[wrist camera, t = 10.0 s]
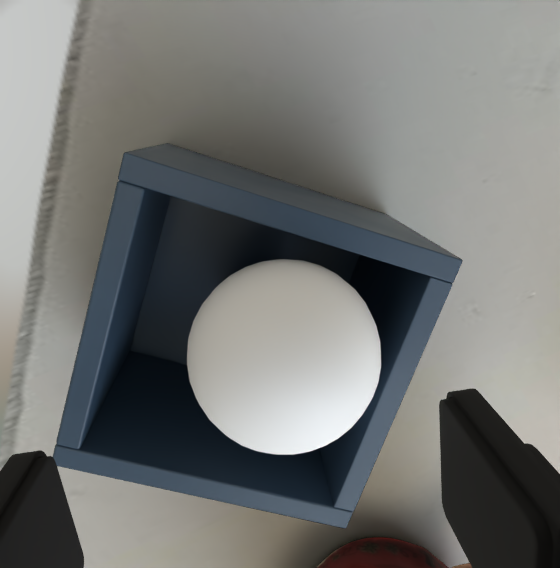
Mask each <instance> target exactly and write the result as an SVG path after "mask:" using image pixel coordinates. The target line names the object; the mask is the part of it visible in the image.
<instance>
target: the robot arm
mask: <svg viewBox="0 0 560 568" xmlns="http://www.w3.org/2000/svg"><path fill="white" fill-rule="evenodd" d="M439 412H440V448H441V483H442V504H443V509H444V512H445V515H446V517H447V520H448V522H449V524H450V525H451V527H452V529H453V531H454V533H455V535H456V537H457V539H458V541H459V543H460V545H461V547H462V549H463V551H464V553H465V554H466V556H467V558H468V560H469V562H470V564H471V566H472V568H560V474H559V473H558V472H557V471H556V470H555V468H554V467H553V466H552V465H551V464H550V463H549V462H548V461H547V460H546V458H545V457H544V456H543V455H542V454H541V453H540V452H539V451H538V450H537V449H536V448H535V447H534V446H533V445H531V444H524V443H523V442H522V441H521V439H520V438H519V437H518V436H517V435H516V434H515V433H514V432H513V430H512V429H511V428H510V427H509V426H508V425H507V424H506V422H505V421H504V420H503V419H502V418H501V417H500V416H499V415H498V413H497V412H496V411H495V410H494V409H493V408H492V407H491V405H490V404H489V403H488V402H487V401H486V400H485V399H484V398H483V396H482V395H481V394H480V393H479V392H478V391H477V390H476V389H466V390H460V391H453V392H449V393H448V394H447V399H444V400H441V401H440V404H439ZM83 567H84V556H83V552H82V548H81V545H80V542H79V538H78V535H77V532H76V528H75V525H74V522H73V518H72V515H71V512H70V508H69V505H68V502H67V499H66V495H65V492H64V489H63V485H62V482H61V479H60V475H59V472H58V469H57V465H56V462H55V460H54V458H53V457H51V456H48V457H47V456H46V454H45V453H44V452H43V451H34V452H27V453H20V454H15V455H12V456H11V457H10V458H9V460H8V461H7V463H6V464H5V465H4V467H3V468H2V470H1V471H0V568H83Z"/></svg>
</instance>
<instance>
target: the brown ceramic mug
mask: <svg viewBox="0 0 560 568" xmlns="http://www.w3.org/2000/svg"><path fill="white" fill-rule="evenodd" d="M316 568H448V567H447V566H446V565H445V564H444V563H442V562H441V561H440V560H439V559H437V558H436V557H435V556H434V555H432V554H431V553H430V552H429V551H428V550H426V549H425V548H423V547H421V546H418V545H415V544H412V543H409V542H405V541H402V540H398V539H393V538H385V537H372V538H364V539H360V540H356V541H353V542H350V543H348V544H346V545H344V546H342V547H340V548H339V549H337V550H335V551H334V552H332V553H331V554H330V555H329V556H328V557H327V558H326V559H324V560H323V561H322V562H321V563H320V564H319V565H318V566H317V567H316ZM452 568H472V566H471V564H470V563H468V564H462V565H458V566H454V567H452Z"/></svg>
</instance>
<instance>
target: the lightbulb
mask: <svg viewBox="0 0 560 568" xmlns="http://www.w3.org/2000/svg"><path fill="white" fill-rule="evenodd" d="M187 367H188V374H189V381H190V384H191V386H192V389H193V392H194V394H195V397H196V399H197V401H198V403H199V405H200V406H201V408H202V409H203V411H204V412H205V414H206V415H207V417H208V418H209V420H210V421H211V422H212V423H213V424H214V425H215V426H216V427H217V428H218V429H219V430H221V431H222V432H223V433H224V434H225V435H226V436H227V437H229V438H230V439H232V440H234V441H235V442H237V443H238V444H240V445H242V446H244V447H247V448H250V449H252V450H255V451H258V452H264V453H269V454H277V455H288V454H299V453H305V452H310V451H313V450H316V449H318V448H321V447H324V446H326V445H328V444H329V443H331V442H333V441H335V440H336V439H338V438H340V437H341V436H342V435H343V434H344V433H346V432H347V431H348V430H349V429H351V428H352V426H353V425H354V424H355V423H356V422H357V421H358V420H359V418H360V417H361V416H362V415H363V413H364V411H365V410H366V408H367V406H368V405H369V403H370V401H371V400H372V398H373V396H374V393H375V390H376V388H377V385H378V382H379V376H380V370H381V347H380V339H379V335H378V331H377V326H376V324H375V321H374V319H373V317H372V315H371V313H370V311H369V309H368V307H367V305H366V303H365V301H364V300H363V299H362V298H361V296H360V295H359V294H358V292H357V291H356V290H355V289H354V288H353V287H352V286H351V285H349V284H348V283H347V282H346V281H344V280H343V279H342V278H341V277H340V276H338V275H337V274H336V273H334V272H332V271H330V270H328V269H326V268H324V267H322V266H320V265H317V264H314V263H310V262H306V261H303V260H290V259H277V260H269V261H262V262H259V263H256V264H253V265H250V266H247V267H244V268H243V269H241V270H239V271H237V272H235V273H233V274H232V275H230V276H229V277H228V278H226V279H225V280H224V281H223V282H222V283H220V284H219V285H218V286H217V287H216V288H215V289H214V290H213V291H212V293H211V294H210V295H209V296H208V298H207V299H206V300H205V301H204V303H203V304H202V305H201V307H200V309H199V311H198V313H197V315H196V317H195V319H194V321H193V324H192V327H191V331H190V334H189V338H188V349H187Z"/></svg>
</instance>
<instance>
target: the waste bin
mask: <svg viewBox="0 0 560 568" xmlns="http://www.w3.org/2000/svg"><path fill="white" fill-rule="evenodd" d="M118 179H119V181H118V182H117V186H116V190H115V194H114V199H113V203H112V207H111V211H110V216H109V220H108V224H107V228H106V233H105V237H104V241H103V245H102V250H101V254H100V258H99V262H98V267H97V271H96V275H95V279H94V284H93V288H92V292H91V296H90V301H89V305H88V309H87V313H86V318H85V322H84V326H83V330H82V335H81V339H80V343H79V347H78V352H77V356H76V360H75V364H74V369H73V373H72V377H71V381H70V386H69V390H68V394H67V398H66V403H65V407H64V411H63V415H62V420H61V424H60V428H59V432H58V437H57V441H56V442H57V444H56V446H55V449H54V453H53V458H54V460H55V462H56V465H57V466H60V467H65V468H69V469H74V470H78V471H83V472H88V473H92V474H97V475H101V476H106V477H111V478H115V479H120V480H124V481H129V482H134V483H138V484H143V485H147V486H152V487H157V488H161V489H166V490H170V491H175V492H179V493H184V494H189V495H193V496H198V497H202V498H207V499H212V500H216V501H221V502H225V503H230V504H235V505H239V506H244V507H248V508H253V509H258V510H262V511H267V512H271V513H276V514H281V515H285V516H290V517H294V518H299V519H303V520H308V521H313V522H317V523H322V524H326V525H331V526H336V527H340V528H346V527H347V525H348V523H349V520H350V518H351V516H352V513H353V511H354V510H355V508H356V505H357V503H358V501H359V498H360V496H361V494H362V491H363V489H364V487H365V485H366V482H367V480H368V478H369V475H370V473H371V471H372V468H373V466H374V464H375V462H376V459H377V457H378V455H379V452H380V450H381V448H382V445H383V443H384V441H385V438H386V436H387V434H388V432H389V429H390V427H391V425H392V422H393V420H394V418H395V415H396V413H397V411H398V409H399V406H400V404H401V402H402V399H403V397H404V395H405V392H406V390H407V388H408V386H409V383H410V381H411V379H412V376H413V374H414V372H415V369H416V367H417V365H418V363H419V360H420V358H421V356H422V353H423V351H424V349H425V346H426V344H427V342H428V340H429V337H430V335H431V333H432V330H433V328H434V326H435V323H436V321H437V319H438V317H439V314H440V312H441V310H442V307H443V305H444V303H445V300H446V298H447V296H448V294H449V291H450V289H451V287H452V283H453V282H454V280H455V277H456V275H457V273H458V270H459V268H460V266H461V264H462V259H460V258H458V257H457V256H455V255H453V254H452V253H450V252H448V251H447V250H445V249H443V248H442V247H440V246H438V245H437V244H435V243H433V242H432V241H430V240H428V239H427V238H425V237H424V236H422V235H420V234H419V233H417V232H415V231H414V230H412V229H410V228H409V227H407V226H405V225H404V224H402V223H400V222H399V221H397V220H395V219H394V218H392V217H390V216H389V215H387V214H384V213H381V212H378V211H374V210H371V209H368V208H365V207H362V206H359V205H356V204H353V203H350V202H347V201H344V200H341V199H338V198H335V197H332V196H328V195H325V194H322V193H319V192H316V191H313V190H310V189H307V188H304V187H301V186H298V185H295V184H292V183H289V182H285V181H282V180H279V179H276V178H273V177H270V176H267V175H264V174H261V173H258V172H255V171H252V170H249V169H246V168H243V167H239V166H236V165H233V164H230V163H227V162H224V161H221V160H218V159H215V158H212V157H209V156H206V155H203V154H200V153H197V152H193V151H190V150H187V149H184V148H181V147H178V146H175V145H172V144H169V143H166V144H162V145H157V146H153V147H148V148H143V149H139V150H134V151H129V152H125V153H124V155H123V159H122V163H121V167H120V172H119V176H118ZM277 259H290V260H303V261H306V262H310V263H314V264H317V265H320V266H322V267H324V268H326V269H328V270H330V271H332V272H334V273H336V274H337V275H338V276H340V277H341V278H342V279H343V280H344V281H346V282H347V283H348V284H349V285H351V286H352V287H353V288H354V289H355V290H356V291H357V292H358V294H359V295H360V296H361V298H362V299H363V300H364V301H365V303H366V305H367V307H368V309H369V311H370V313H371V315H372V317H373V319H374V321H375V324H376V326H377V331H378V335H379V339H380V347H381V370H380V376H379V382H378V385H377V388H376V390H375V393H374V396H373V398H372V400H371V401H370V403H369V405H368V406H367V408H366V410H365V411H364V413H363V415H362V416H361V417H360V418H359V420H358V421H357V422H356V423H355V424H354V425H353V426H352V428H351V429H349V430H348V431H347V432H346V433H344V434H343V435H342V436H341V437H340V438H338V439H336V440H335V441H333V442H331V443H329V444H328V445H326V446H324V447H321V448H318V449H316V450H313V451H310V452H305V453H299V454H288V455H277V454H269V453H264V452H258V451H255V450H252V449H250V448H247V447H244V446H242V445H240V444H238V443H237V442H235V441H234V440H232V439H230V438H229V437H227V436H226V435H225V434H224V433H223V432H222V431H221V430H219V429H218V428H217V427H216V426H215V425H214V424H213V423H212V422H211V421H210V420H209V418H208V417H207V415H206V414H205V412H204V411H203V409H202V408H201V406H200V405H199V403H198V401H197V399H196V397H195V394H194V392H193V389H192V386H191V384H190V381H189V374H188V367H187V349H188V338H189V334H190V331H191V327H192V324H193V321H194V319H195V317H196V315H197V313H198V311H199V309H200V307H201V305H202V304H203V303H204V301H205V300H206V299H207V298H208V296H209V295H210V294H211V293H212V291H213V290H214V289H215V288H216V287H217V286H218V285H219V284H220V283H222V282H223V281H224V280H225V279H226V278H228V277H229V276H230V275H232V274H233V273H235V272H237V271H239V270H241V269H243V268H244V267H247V266H250V265H253V264H256V263H259V262H262V261H269V260H277Z"/></svg>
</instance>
